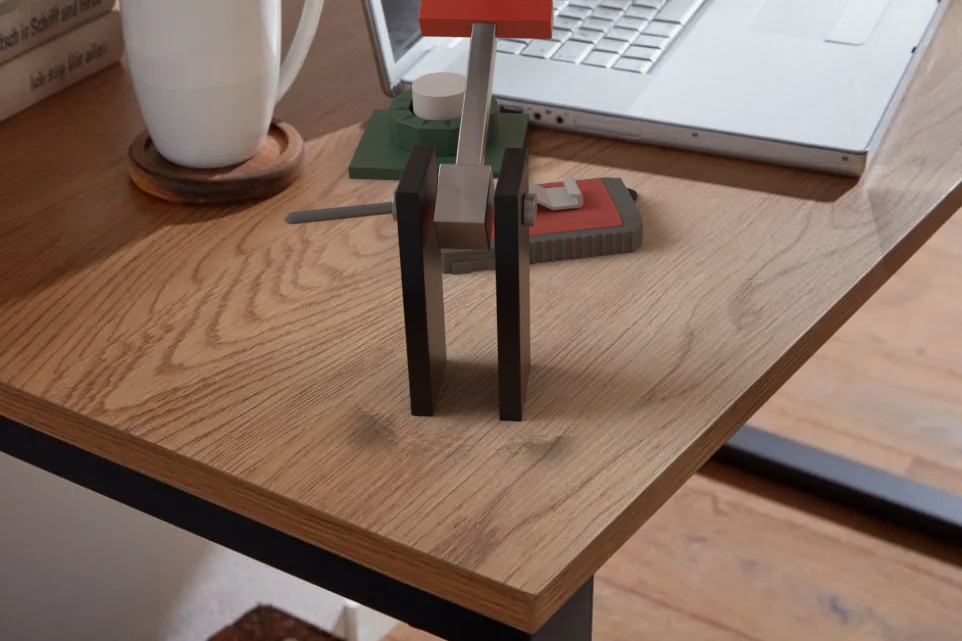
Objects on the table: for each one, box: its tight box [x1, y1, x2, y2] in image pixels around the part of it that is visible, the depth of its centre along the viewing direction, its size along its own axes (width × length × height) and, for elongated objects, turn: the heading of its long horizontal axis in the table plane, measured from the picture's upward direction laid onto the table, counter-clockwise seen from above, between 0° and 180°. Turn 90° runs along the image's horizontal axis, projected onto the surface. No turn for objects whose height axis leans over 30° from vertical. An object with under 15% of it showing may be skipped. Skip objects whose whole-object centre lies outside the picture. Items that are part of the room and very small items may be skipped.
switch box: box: [347, 88, 530, 181], centre depth 82 cm, size 10×8×4 cm
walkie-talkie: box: [284, 176, 644, 276], centre depth 73 cm, size 9×4×20 cm
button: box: [411, 71, 466, 120], centre depth 81 cm, size 4×4×2 cm
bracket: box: [391, 145, 537, 423], centre depth 59 cm, size 8×8×13 cm
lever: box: [417, 0, 555, 251], centre depth 58 cm, size 12×6×2 cm
